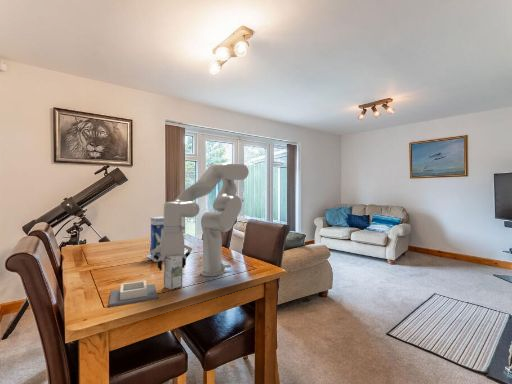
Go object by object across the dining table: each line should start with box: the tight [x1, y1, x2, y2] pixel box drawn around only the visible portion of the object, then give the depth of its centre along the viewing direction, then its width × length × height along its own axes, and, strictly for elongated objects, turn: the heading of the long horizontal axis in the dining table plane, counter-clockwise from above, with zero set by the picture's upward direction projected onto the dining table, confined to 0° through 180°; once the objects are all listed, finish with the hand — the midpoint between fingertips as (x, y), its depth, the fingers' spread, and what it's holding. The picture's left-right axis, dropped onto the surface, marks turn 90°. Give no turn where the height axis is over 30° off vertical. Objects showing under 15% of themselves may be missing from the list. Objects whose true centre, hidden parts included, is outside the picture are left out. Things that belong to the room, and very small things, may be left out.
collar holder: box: [108, 279, 159, 308], centre depth 108 cm, size 17×14×4 cm
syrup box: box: [163, 255, 183, 291], centre depth 118 cm, size 6×6×14 cm
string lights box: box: [150, 215, 164, 263], centre depth 161 cm, size 13×8×26 cm, turn 131°
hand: (171, 268), depth 117 cm, fingers open, 9 cm apart
